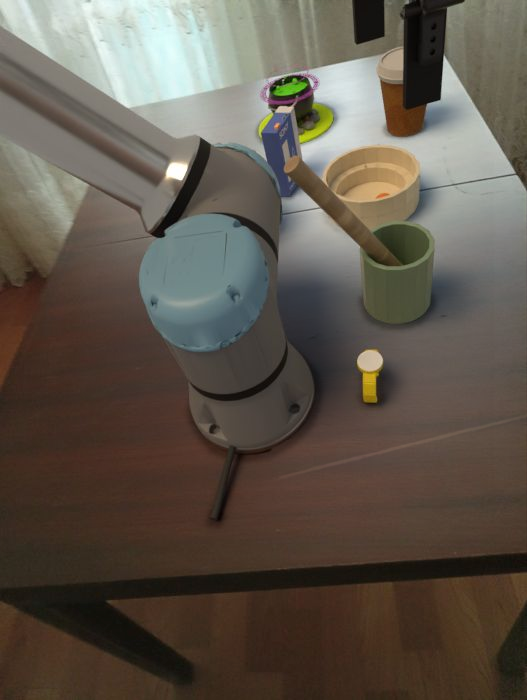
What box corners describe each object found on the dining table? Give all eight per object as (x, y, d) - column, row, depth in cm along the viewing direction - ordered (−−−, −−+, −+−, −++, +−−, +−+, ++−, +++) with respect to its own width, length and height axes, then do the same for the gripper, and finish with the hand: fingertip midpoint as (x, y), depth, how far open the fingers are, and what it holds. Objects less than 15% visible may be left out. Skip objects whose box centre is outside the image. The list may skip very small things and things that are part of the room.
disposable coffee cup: (374, 142, 89) (371, 73, 80) (382, 114, 94) (380, 46, 85) (429, 141, 86) (433, 69, 77) (435, 111, 91) (439, 40, 82)
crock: (440, 316, 63) (446, 257, 55) (375, 333, 63) (372, 277, 56) (416, 273, 68) (419, 213, 60) (356, 289, 69) (351, 232, 61)
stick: (425, 295, 64) (298, 166, 47) (410, 300, 65) (282, 176, 48) (423, 282, 64) (299, 151, 48) (409, 287, 66) (283, 161, 49)
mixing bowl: (432, 219, 74) (434, 184, 69) (339, 245, 75) (335, 212, 70) (400, 169, 83) (400, 135, 78) (317, 192, 84) (313, 160, 79)
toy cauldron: (249, 121, 103) (236, 66, 95) (316, 96, 104) (309, 39, 95) (271, 154, 94) (259, 96, 85) (345, 127, 94) (340, 66, 86)
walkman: (289, 197, 85) (276, 130, 75) (274, 196, 86) (259, 130, 76) (305, 169, 89) (294, 103, 79) (291, 169, 90) (278, 103, 80)
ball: (387, 186, 74) (373, 192, 76) (380, 203, 73) (367, 208, 76) (401, 198, 75) (387, 203, 77) (394, 214, 74) (381, 219, 77)
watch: (361, 367, 61) (358, 337, 56) (385, 368, 60) (384, 337, 55) (358, 410, 57) (355, 381, 53) (383, 411, 56) (382, 382, 52)
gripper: (602, -429, 18) (504, 123, 35) (386, -343, 34) (389, 8, 50) (400, -360, 19) (398, 153, 35) (280, -307, 34) (317, 29, 51)
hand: (392, 68), depth 43 cm, fingers open, 13 cm apart
